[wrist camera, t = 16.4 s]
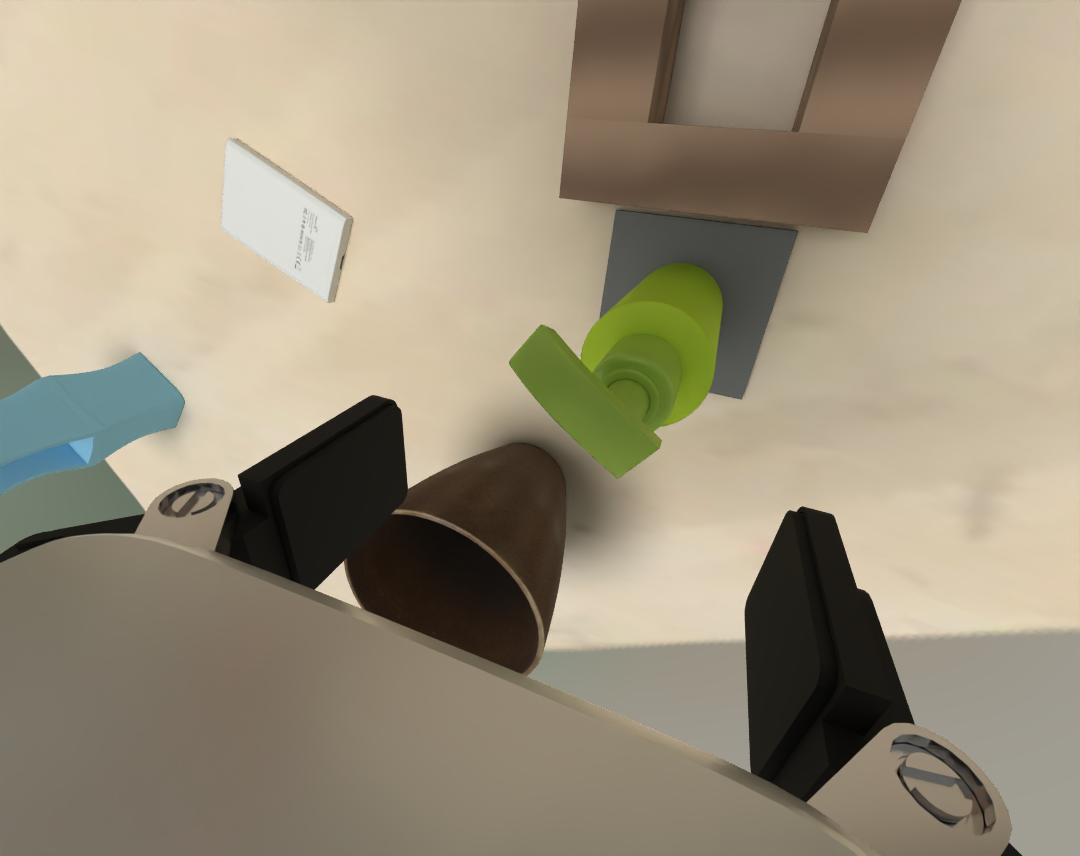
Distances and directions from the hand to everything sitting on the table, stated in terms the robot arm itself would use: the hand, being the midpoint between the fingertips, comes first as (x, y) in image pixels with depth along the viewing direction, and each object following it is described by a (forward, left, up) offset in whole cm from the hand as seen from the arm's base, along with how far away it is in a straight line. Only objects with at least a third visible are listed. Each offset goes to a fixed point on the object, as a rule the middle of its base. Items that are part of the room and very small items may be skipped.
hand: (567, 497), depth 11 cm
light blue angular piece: (+22, -62, -25) cm, 70 cm away
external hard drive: (-1, -34, -26) cm, 43 cm away
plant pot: (+18, -10, -25) cm, 32 cm away
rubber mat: (0, 0, -25) cm, 25 cm away
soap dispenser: (0, 0, -24) cm, 24 cm away
